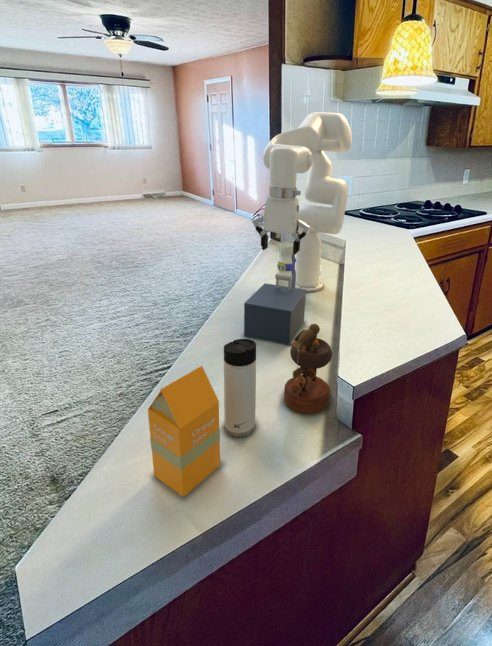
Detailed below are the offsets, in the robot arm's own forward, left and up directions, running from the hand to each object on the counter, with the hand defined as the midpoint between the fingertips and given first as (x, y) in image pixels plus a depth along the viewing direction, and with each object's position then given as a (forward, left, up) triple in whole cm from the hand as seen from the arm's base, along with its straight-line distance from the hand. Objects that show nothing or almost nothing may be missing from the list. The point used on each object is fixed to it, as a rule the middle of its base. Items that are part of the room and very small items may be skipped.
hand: (280, 251), depth 122 cm
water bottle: (-21, -8, -24) cm, 33 cm away
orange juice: (+61, +15, -24) cm, 67 cm away
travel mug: (+47, +17, -24) cm, 55 cm away
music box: (+31, +25, -24) cm, 46 cm away
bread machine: (+5, +2, -24) cm, 24 cm away
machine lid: (+4, +2, -13) cm, 14 cm away
